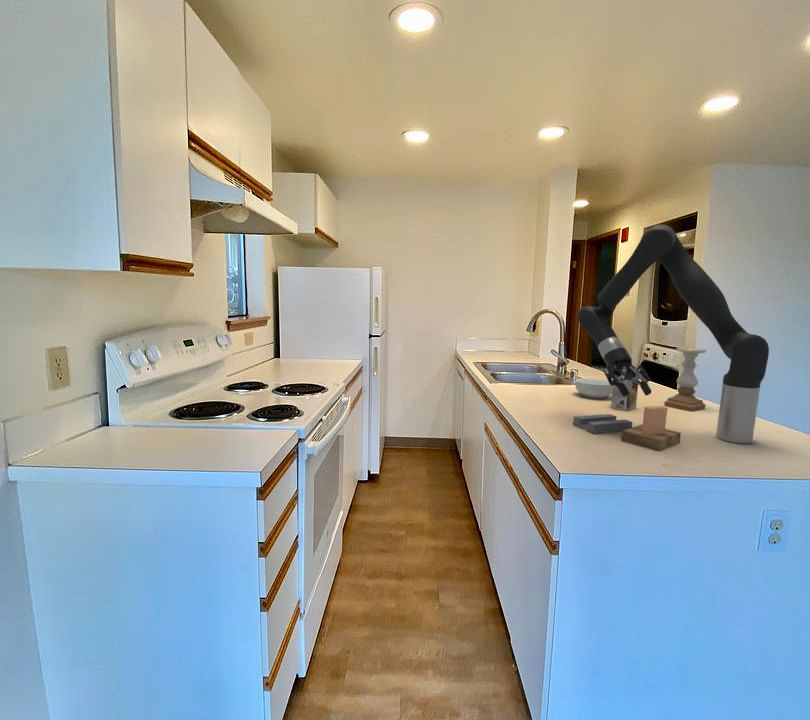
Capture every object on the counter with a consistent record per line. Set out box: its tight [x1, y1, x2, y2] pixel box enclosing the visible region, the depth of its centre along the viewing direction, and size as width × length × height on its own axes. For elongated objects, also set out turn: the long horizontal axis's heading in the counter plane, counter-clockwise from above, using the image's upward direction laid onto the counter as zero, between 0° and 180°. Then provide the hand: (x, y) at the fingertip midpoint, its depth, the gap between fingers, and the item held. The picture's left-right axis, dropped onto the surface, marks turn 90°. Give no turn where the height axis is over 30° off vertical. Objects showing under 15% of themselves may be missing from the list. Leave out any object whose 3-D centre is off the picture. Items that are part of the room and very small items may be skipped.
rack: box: [572, 413, 633, 435], centre depth 147 cm, size 15×11×3 cm
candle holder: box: [663, 347, 707, 412], centre depth 178 cm, size 11×11×24 cm
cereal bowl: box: [574, 377, 613, 400], centre depth 195 cm, size 17×17×7 cm
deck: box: [620, 423, 682, 452], centre depth 134 cm, size 14×11×3 cm
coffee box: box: [610, 375, 640, 412], centre depth 175 cm, size 9×6×16 cm
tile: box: [642, 405, 668, 435], centre depth 132 cm, size 6×2×8 cm, turn 107°
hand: (638, 394), depth 138 cm, fingers open, 8 cm apart
